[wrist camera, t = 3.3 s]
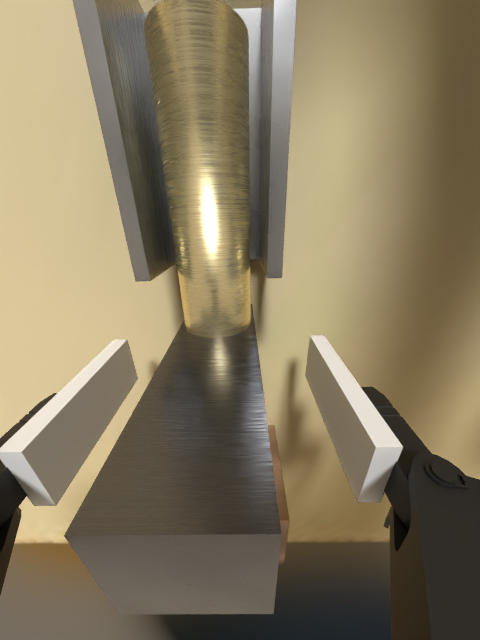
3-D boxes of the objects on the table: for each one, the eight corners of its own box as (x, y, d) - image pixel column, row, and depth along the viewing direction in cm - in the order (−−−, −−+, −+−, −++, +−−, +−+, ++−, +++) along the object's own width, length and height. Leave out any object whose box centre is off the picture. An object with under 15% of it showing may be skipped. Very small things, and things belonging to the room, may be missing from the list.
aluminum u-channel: (139, 31, 10) (37, -155, 5) (272, 26, 10) (305, -168, 5) (172, 259, 14) (135, 281, 9) (267, 256, 14) (281, 277, 9)
